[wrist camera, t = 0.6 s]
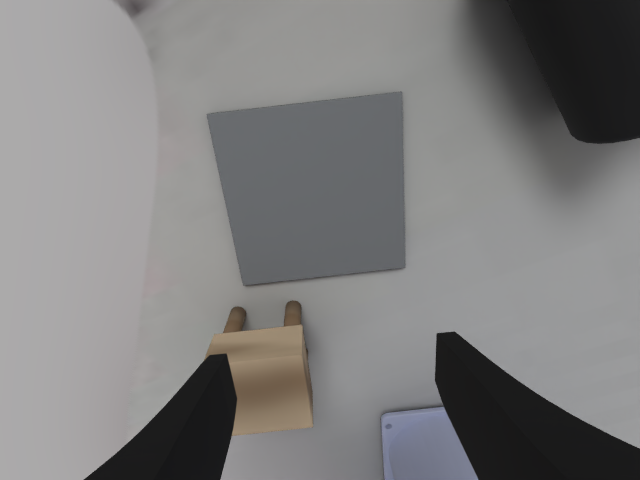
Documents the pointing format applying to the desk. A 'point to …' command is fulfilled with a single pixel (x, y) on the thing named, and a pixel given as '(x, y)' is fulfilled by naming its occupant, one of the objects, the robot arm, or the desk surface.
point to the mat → (313, 186)
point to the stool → (268, 373)
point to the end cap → (588, 62)
